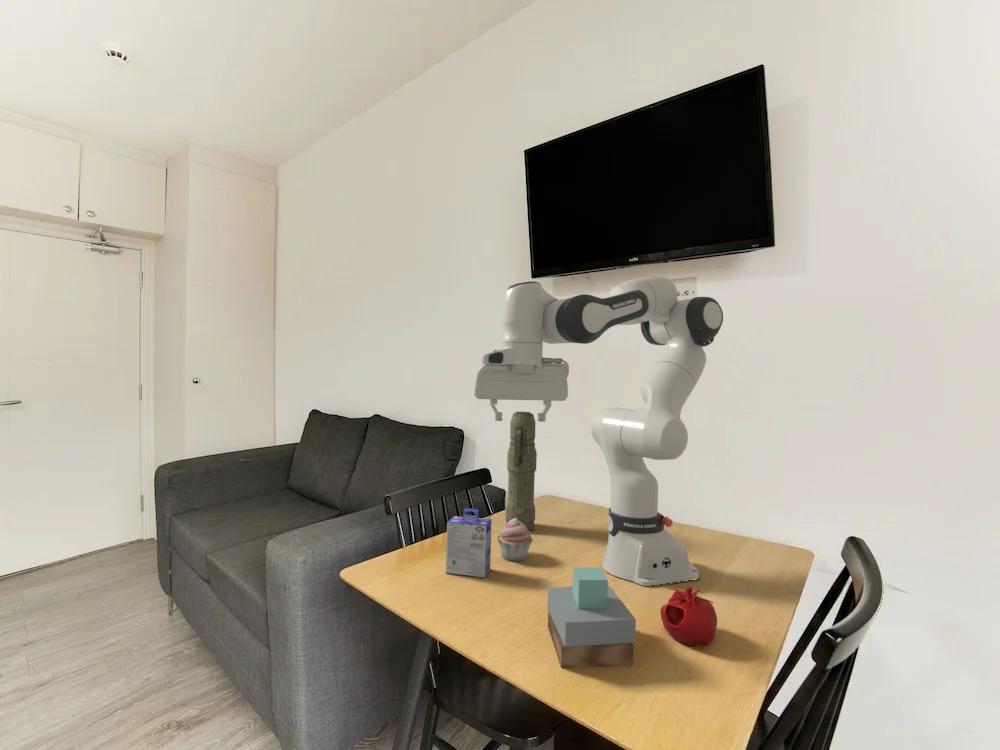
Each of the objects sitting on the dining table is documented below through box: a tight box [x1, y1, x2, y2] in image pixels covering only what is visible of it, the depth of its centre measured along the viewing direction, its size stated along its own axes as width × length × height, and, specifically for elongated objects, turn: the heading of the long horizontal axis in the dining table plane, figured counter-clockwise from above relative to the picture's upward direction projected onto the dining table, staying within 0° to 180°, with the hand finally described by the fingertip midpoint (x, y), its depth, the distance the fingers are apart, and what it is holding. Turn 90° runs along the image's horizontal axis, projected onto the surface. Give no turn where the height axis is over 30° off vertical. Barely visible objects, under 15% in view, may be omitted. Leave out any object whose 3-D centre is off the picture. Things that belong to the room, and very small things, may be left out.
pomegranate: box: [660, 585, 718, 646], centre depth 86 cm, size 10×10×9 cm
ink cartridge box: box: [445, 507, 492, 578], centre depth 110 cm, size 10×6×14 cm, turn 79°
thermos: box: [505, 411, 538, 532], centre depth 141 cm, size 9×12×35 cm
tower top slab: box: [547, 585, 637, 647], centre depth 82 cm, size 12×12×4 cm
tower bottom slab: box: [547, 610, 634, 669], centre depth 82 cm, size 12×12×4 cm
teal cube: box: [572, 566, 609, 609], centre depth 83 cm, size 5×5×5 cm
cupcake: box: [497, 518, 534, 562], centre depth 119 cm, size 9×9×10 cm
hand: (520, 421), depth 101 cm, fingers open, 8 cm apart
